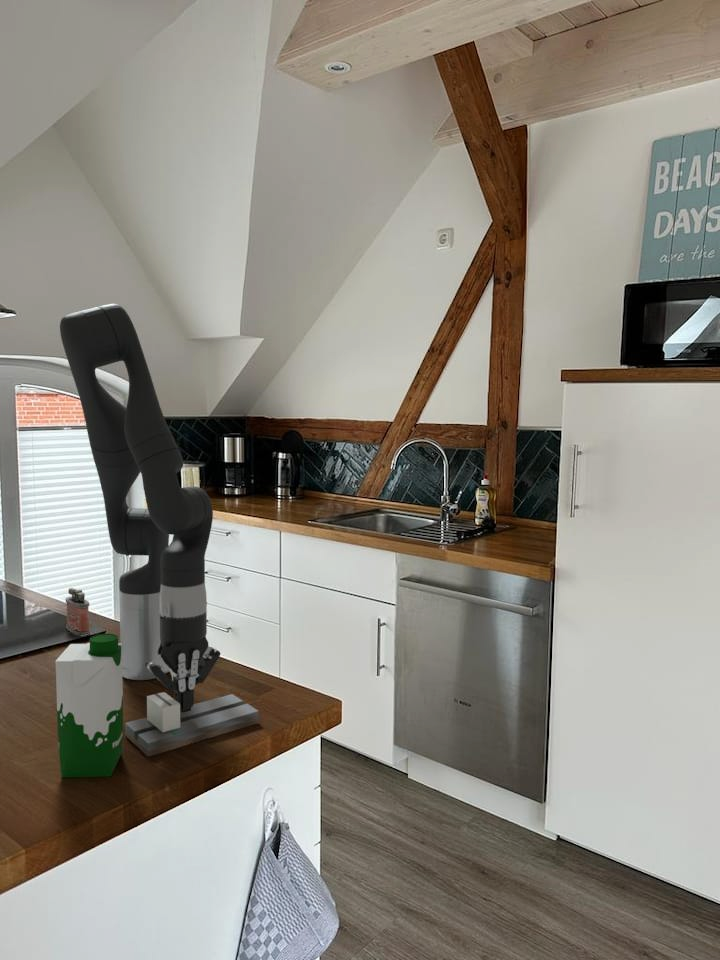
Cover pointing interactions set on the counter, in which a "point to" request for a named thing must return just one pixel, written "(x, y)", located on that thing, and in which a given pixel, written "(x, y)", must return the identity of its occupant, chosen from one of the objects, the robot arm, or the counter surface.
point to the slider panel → (193, 725)
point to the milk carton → (90, 707)
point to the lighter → (77, 612)
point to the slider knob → (163, 711)
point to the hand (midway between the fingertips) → (184, 710)
